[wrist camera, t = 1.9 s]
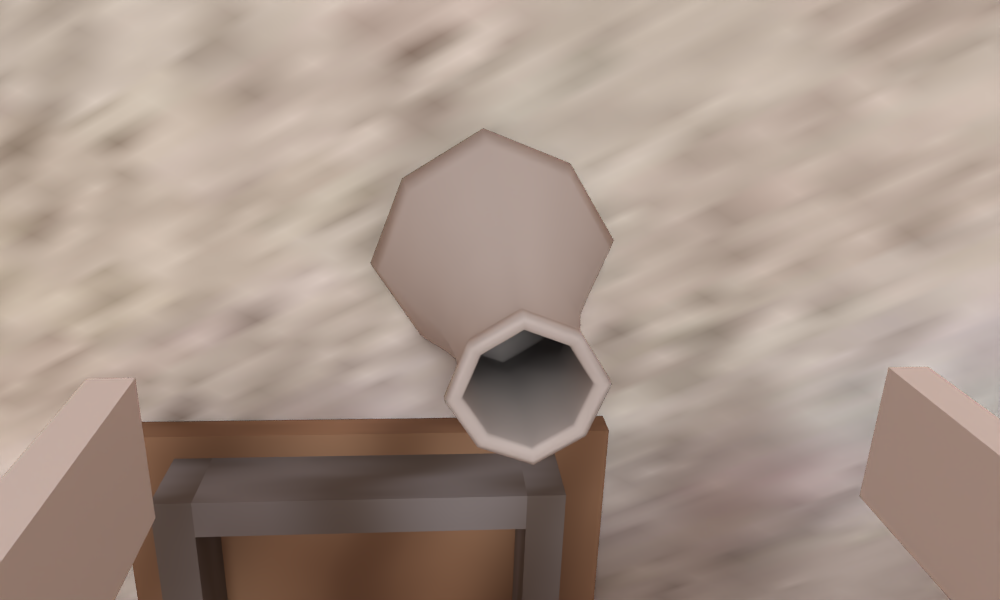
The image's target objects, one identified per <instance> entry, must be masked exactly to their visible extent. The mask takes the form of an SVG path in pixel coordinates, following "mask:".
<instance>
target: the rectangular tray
mask: <svg viewBox="0 0 1000 600" xmlns="http://www.w3.org/2000/svg"><path fill="white" fill-rule="evenodd" d="M142 428H143V435H144V442H145V449H146V456H147V463H148V470H149V477H150V484H151V491H152V498H153V505H154V512H155V520H154V522H153V524H152V526H151V528H150V530H149V532H148V534H147V536H146V538H145V540H144V542H143V544H142V546H141V548H140V550H139V552H138V554H137V556H136V558H135V560H134V562H133V570H134V576H135V583H136V589H137V596H138V600H594V590H595V578H596V567H597V556H598V545H599V534H600V522H601V511H602V500H603V489H604V478H605V466H606V455H607V444H608V433H609V430H608V428H607V425H606V423H605V421H604V418H603V416H596V417H595V419H594V421H593V423H592V425H591V427H590V429H589V431H588V433H587V435H586V436H585V437H583V438H581V439H579V440H578V441H576V442H574V443H572V444H570V445H569V446H567V447H565V448H563V449H562V450H560V451H558V452H556V453H554V454H553V455H551V456H549V457H547V458H545V459H544V460H542V461H540V462H538V463H536V464H535V465H532V464H529V463H526V462H523V461H519V460H516V459H513V458H510V457H507V456H503V455H500V454H497V453H494V452H491V451H488V450H484V449H481V448H478V447H477V446H476V444H475V443H474V442H473V440H472V439H471V437H470V436H469V435H468V433H467V432H466V430H465V429H464V428H463V426H462V425H461V423H460V422H459V421H458V419H457V418H422V419H345V420H268V421H192V422H142Z"/></svg>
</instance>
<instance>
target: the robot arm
mask: <svg viewBox="0 0 1000 600" xmlns="http://www.w3.org/2000/svg"><path fill="white" fill-rule="evenodd" d="M860 497H861V498H862V500H863V501H864V502H865V503H866V504H867V505H868V506H869V508H870V509H871V510H872V511H873V512H874V513H875V514H876V515H877V517H878V518H879V519H880V520H881V521H882V522H883V523H884V525H885V526H886V527H887V528H888V529H889V530H890V531H891V533H892V534H893V535H894V536H895V537H896V538H897V539H898V541H899V542H900V543H901V544H902V545H903V546H904V547H905V548H906V550H907V551H908V552H909V553H910V554H911V555H912V556H913V558H914V559H915V560H916V561H917V562H918V563H919V564H920V566H921V567H922V568H923V569H924V570H925V571H926V572H927V573H928V575H929V576H930V577H931V578H932V579H933V580H934V581H935V583H936V584H937V585H938V586H939V587H940V588H941V589H942V591H943V592H944V593H945V594H946V595H947V596H948V597H949V598H950V600H1000V419H999V418H998V417H996V416H995V415H993V414H992V413H991V412H989V411H988V410H987V409H985V408H984V407H983V406H981V405H980V404H978V403H977V402H976V401H974V400H973V399H972V398H970V397H969V396H968V395H966V394H965V393H963V392H962V391H961V390H959V389H958V388H957V387H955V386H954V385H952V384H951V383H950V382H948V381H947V380H946V379H944V378H943V377H942V376H940V375H939V374H937V373H936V372H935V371H933V370H932V369H931V368H929V367H889V368H888V372H887V377H886V381H885V386H884V390H883V394H882V399H881V403H880V408H879V412H878V417H877V421H876V425H875V430H874V434H873V439H872V443H871V448H870V452H869V457H868V461H867V465H866V470H865V474H864V479H863V483H862V488H861V492H860ZM154 520H155V512H154V505H153V498H152V491H151V484H150V477H149V470H148V463H147V456H146V449H145V442H144V435H143V428H142V422H141V415H140V408H139V401H138V394H137V387H136V380H135V378H97V379H86V380H85V381H84V382H83V383H82V385H81V386H80V387H79V388H78V389H77V390H76V392H75V393H74V394H73V395H72V396H71V397H70V399H69V400H68V401H67V402H66V403H65V404H64V406H63V407H62V408H61V409H60V410H59V411H58V413H57V414H56V415H55V416H54V417H53V418H52V420H51V421H50V422H49V423H48V424H47V425H46V427H45V428H44V429H43V430H42V431H41V432H40V434H39V435H38V436H37V437H36V438H35V439H34V441H33V442H32V443H31V444H30V445H29V446H28V448H27V449H26V450H25V451H24V452H23V453H22V455H21V456H20V457H19V458H18V459H17V460H16V462H15V463H14V464H13V465H12V466H11V467H10V469H9V470H8V471H7V472H6V473H5V475H4V476H3V477H2V478H1V479H0V600H115V598H116V596H117V594H118V592H119V590H120V588H121V586H122V584H123V582H124V580H125V578H126V576H127V574H128V572H129V570H130V568H131V566H132V564H133V562H134V560H135V558H136V556H137V554H138V552H139V550H140V548H141V546H142V544H143V542H144V540H145V538H146V536H147V534H148V532H149V530H150V528H151V526H152V524H153V522H154Z"/></svg>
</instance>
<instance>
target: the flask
mask: <svg viewBox="0 0 1000 600" xmlns="http://www.w3.org/2000/svg"><path fill="white" fill-rule="evenodd" d="M613 241H614V240H613V238H612V236H611V235H610V233H609V231H608V229H607V228H606V226H605V224H604V222H603V220H602V219H601V217H600V215H599V213H598V212H597V210H596V208H595V206H594V205H593V203H592V201H591V199H590V197H589V196H588V194H587V192H586V190H585V189H584V187H583V185H582V183H581V182H580V180H579V178H578V176H577V174H576V173H575V171H574V169H573V167H572V166H571V164H570V163H568V162H565V161H563V160H560V159H558V158H555V157H553V156H551V155H548V154H546V153H543V152H541V151H538V150H536V149H533V148H531V147H528V146H526V145H523V144H521V143H518V142H516V141H513V140H511V139H508V138H506V137H504V136H501V135H499V134H496V133H494V132H491V131H489V130H486V129H484V128H483V129H481V130H480V131H478V132H476V133H475V134H473V135H472V136H470V137H468V138H467V139H465V140H464V141H462V142H460V143H459V144H457V145H455V146H454V147H452V148H451V149H449V150H447V151H446V152H444V153H442V154H441V155H439V156H438V157H436V158H434V159H433V160H431V161H430V162H428V163H426V164H425V165H423V166H421V167H420V168H418V169H417V170H415V171H413V172H412V173H410V174H408V175H407V176H405V177H404V178H402V180H401V183H400V185H399V188H398V191H397V193H396V196H395V199H394V201H393V204H392V207H391V209H390V212H389V215H388V217H387V220H386V223H385V225H384V228H383V231H382V234H381V236H380V239H379V242H378V244H377V247H376V250H375V252H374V255H373V258H372V260H371V265H372V266H373V267H374V269H375V270H376V272H377V273H378V275H379V276H380V277H381V279H382V280H383V282H384V283H385V285H386V286H387V287H388V289H389V290H390V292H391V293H392V295H393V296H394V297H395V299H396V300H397V302H398V303H399V305H400V306H401V307H402V309H403V310H404V312H405V313H406V315H407V316H408V317H409V319H410V320H411V322H412V323H413V325H414V326H415V327H416V329H417V330H418V332H419V333H420V334H421V335H422V336H423V337H424V338H426V339H427V340H429V341H430V342H432V343H434V344H435V345H437V346H439V347H440V348H442V349H444V350H445V351H447V352H448V353H449V354H450V355H452V356H453V357H454V358H455V359H456V361H457V367H456V370H455V372H454V374H453V377H452V379H451V381H450V384H449V386H448V388H447V391H446V393H445V395H444V399H445V402H446V404H447V405H448V406H449V408H450V409H451V411H452V412H453V414H454V415H455V416H456V418H457V419H458V421H459V422H460V423H461V425H462V426H463V428H464V429H465V430H466V432H467V433H468V435H469V436H470V437H471V439H472V440H473V442H474V443H475V444H476V446H477V447H478V448H481V449H484V450H488V451H491V452H494V453H497V454H500V455H503V456H507V457H510V458H513V459H516V460H519V461H523V462H526V463H529V464H532V465H535V464H536V463H538V462H540V461H542V460H544V459H545V458H547V457H549V456H551V455H553V454H554V453H556V452H558V451H560V450H562V449H563V448H565V447H567V446H569V445H570V444H572V443H574V442H576V441H578V440H579V439H581V438H583V437H585V436H586V435H587V433H588V431H589V429H590V427H591V425H592V423H593V421H594V419H595V417H596V415H597V413H598V411H599V409H600V407H601V405H602V403H603V401H604V399H605V397H606V395H607V393H608V391H609V389H610V387H611V385H612V383H611V380H610V378H609V377H608V375H607V373H606V372H605V370H604V368H603V367H602V365H601V363H600V362H599V360H598V359H597V357H596V355H595V354H594V352H593V350H592V349H591V347H590V345H589V344H588V342H587V341H586V339H585V337H584V336H583V334H582V332H581V331H580V314H581V312H582V309H583V307H584V305H585V302H586V300H587V297H588V295H589V293H590V291H591V289H592V286H593V284H594V282H595V280H596V278H597V276H598V274H599V271H600V269H601V267H602V265H603V263H604V261H605V259H606V257H607V254H608V252H609V250H610V248H611V245H612V243H613Z"/></svg>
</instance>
